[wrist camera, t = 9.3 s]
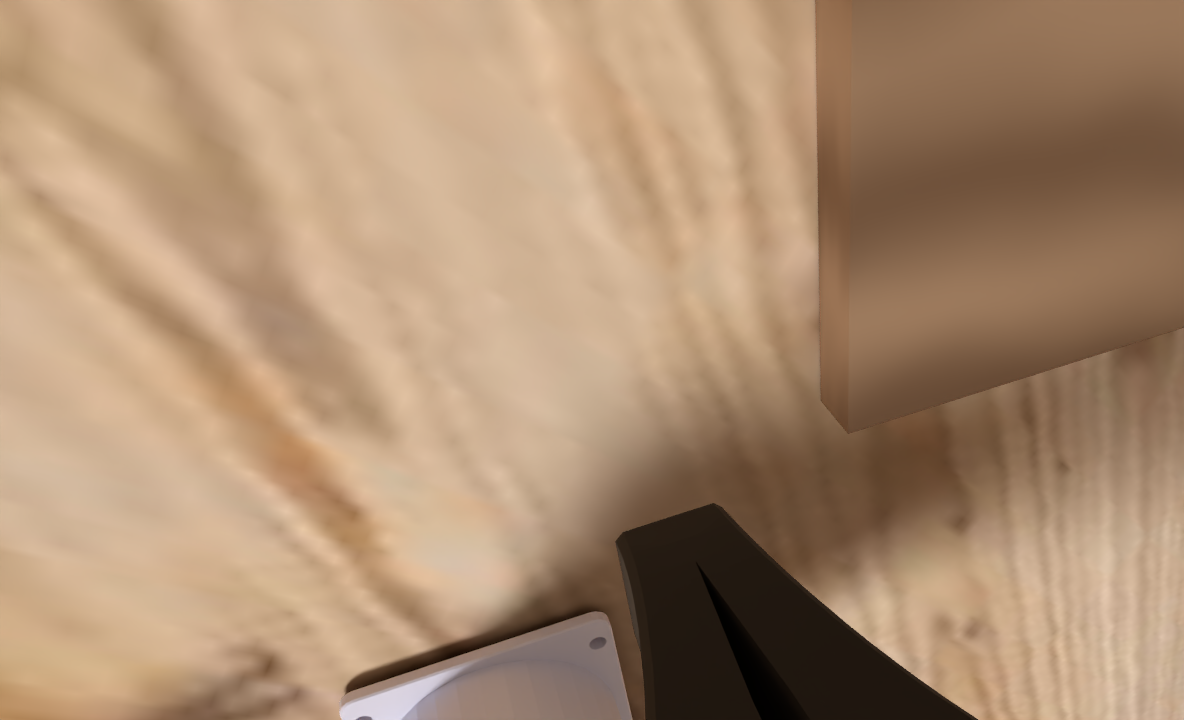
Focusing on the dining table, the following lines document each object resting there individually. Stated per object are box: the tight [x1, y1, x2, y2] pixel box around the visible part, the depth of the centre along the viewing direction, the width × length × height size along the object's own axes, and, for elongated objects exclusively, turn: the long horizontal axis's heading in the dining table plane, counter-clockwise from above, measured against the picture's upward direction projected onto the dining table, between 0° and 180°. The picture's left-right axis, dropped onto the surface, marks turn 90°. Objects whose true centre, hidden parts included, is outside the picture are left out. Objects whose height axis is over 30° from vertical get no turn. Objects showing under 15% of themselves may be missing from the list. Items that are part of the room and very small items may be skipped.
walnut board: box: [815, 0, 1184, 434], centre depth 22 cm, size 11×10×2 cm
